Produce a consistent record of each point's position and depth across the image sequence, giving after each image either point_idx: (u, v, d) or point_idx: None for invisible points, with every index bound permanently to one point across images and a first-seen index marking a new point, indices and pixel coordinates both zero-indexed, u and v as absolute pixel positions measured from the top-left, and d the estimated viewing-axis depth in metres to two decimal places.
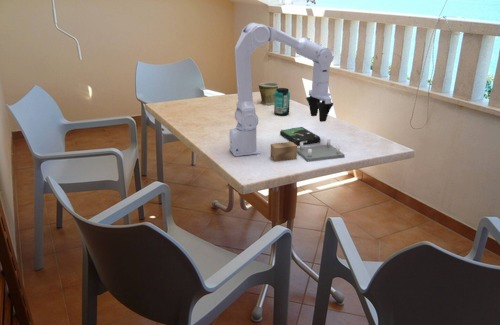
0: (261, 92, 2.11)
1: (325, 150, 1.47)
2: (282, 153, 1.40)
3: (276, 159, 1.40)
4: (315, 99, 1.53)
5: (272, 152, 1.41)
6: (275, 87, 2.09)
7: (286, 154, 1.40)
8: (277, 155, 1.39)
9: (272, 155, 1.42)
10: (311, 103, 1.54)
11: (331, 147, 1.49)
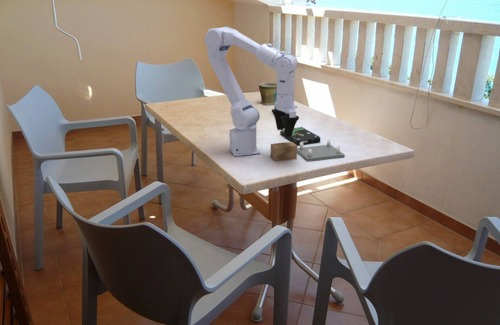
0: (261, 92, 2.11)
1: (325, 150, 1.47)
2: (282, 153, 1.40)
3: (276, 159, 1.40)
4: (281, 111, 1.41)
5: (272, 152, 1.41)
6: (275, 87, 2.09)
7: (286, 154, 1.40)
8: (277, 155, 1.39)
9: (272, 155, 1.42)
10: (277, 116, 1.41)
11: (331, 147, 1.49)
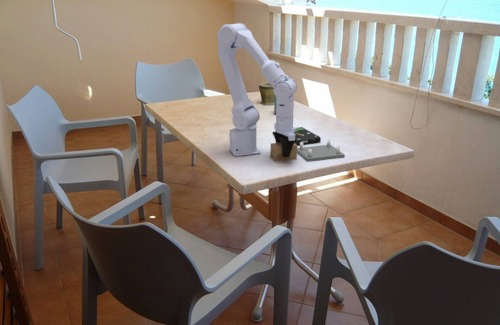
0: (261, 92, 2.11)
1: (325, 150, 1.47)
2: None
3: (276, 159, 1.40)
4: (282, 134, 1.42)
5: (272, 152, 1.41)
6: None
7: None
8: (277, 155, 1.39)
9: (272, 155, 1.42)
10: (277, 138, 1.42)
11: (331, 147, 1.49)
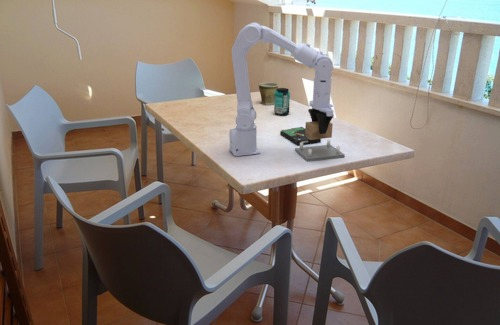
0: (261, 92, 2.11)
1: (325, 150, 1.47)
2: (317, 130, 1.40)
3: (312, 137, 1.41)
4: (318, 111, 1.43)
5: (307, 130, 1.42)
6: (275, 87, 2.09)
7: None
8: (313, 133, 1.40)
9: (307, 133, 1.42)
10: (313, 116, 1.43)
11: (331, 147, 1.49)
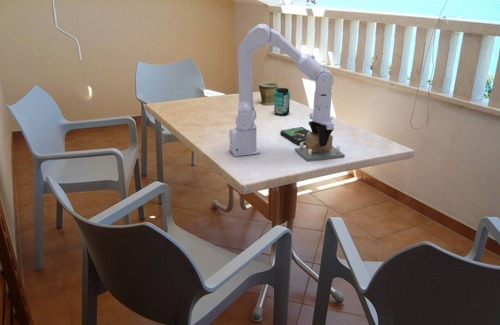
0: (261, 92, 2.11)
1: None
2: (318, 143, 1.42)
3: (312, 149, 1.42)
4: (318, 124, 1.45)
5: (308, 142, 1.44)
6: (275, 87, 2.09)
7: None
8: (313, 145, 1.42)
9: (308, 145, 1.44)
10: (314, 128, 1.45)
11: None
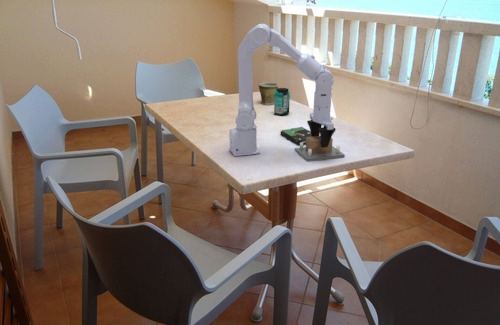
0: (261, 92, 2.11)
1: None
2: (318, 145, 1.43)
3: (312, 152, 1.43)
4: (316, 123, 1.46)
5: (308, 145, 1.44)
6: (275, 87, 2.09)
7: None
8: (313, 148, 1.42)
9: (308, 148, 1.45)
10: (312, 127, 1.46)
11: None
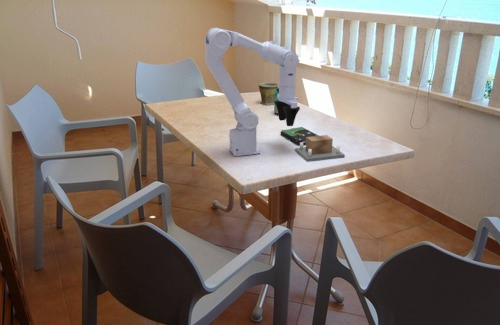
0: (261, 92, 2.11)
1: None
2: (318, 145, 1.43)
3: (312, 152, 1.43)
4: (283, 103, 1.51)
5: (308, 145, 1.44)
6: (275, 87, 2.09)
7: (322, 146, 1.43)
8: (313, 148, 1.42)
9: (308, 148, 1.45)
10: (279, 107, 1.51)
11: None
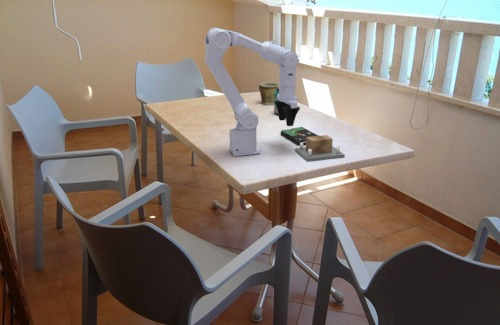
0: (261, 92, 2.11)
1: None
2: (318, 145, 1.43)
3: (312, 152, 1.43)
4: (283, 103, 1.51)
5: (308, 145, 1.44)
6: (275, 87, 2.09)
7: (322, 146, 1.43)
8: (313, 148, 1.42)
9: (308, 148, 1.45)
10: (279, 107, 1.51)
11: None
